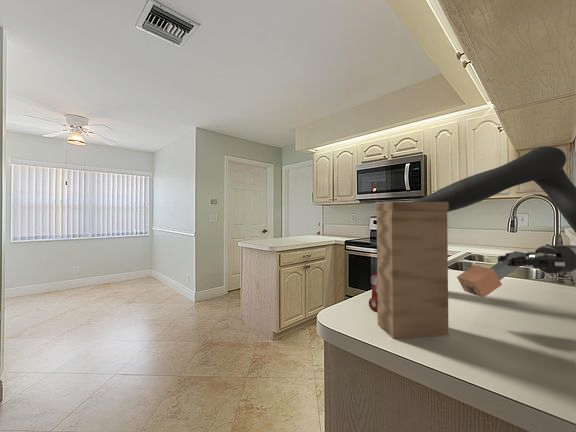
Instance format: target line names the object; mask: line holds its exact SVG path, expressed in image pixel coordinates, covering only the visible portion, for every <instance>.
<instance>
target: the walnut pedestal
mask: <svg viewBox="0 0 576 432" xmlns="http://www.w3.org/2000/svg"><path fill="white" fill-rule="evenodd" d="M447 210H449V202H412V201H390V202H381V203H375V212H376V266H377V267H376V275H377V305H378V311H377V325H378V327H380V328H381V329H382V330H383V331H384V332H385V333H386V334H387V335H389V336H390V338H392V339H393V340H394V339H407V338H427V337H440V336H441V337H442V336H449V273H448V272H449V269H448V268H449V265H448V264H449V260H448V257H449V256H448V255H449V253H448V250H449V249H448V247H449V246H448V242H449V241H448V212H447Z"/></svg>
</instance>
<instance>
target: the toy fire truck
mask: <svg viewBox="0 0 576 432" xmlns="http://www.w3.org/2000/svg"><path fill="white" fill-rule="evenodd" d="M370 283H371V298H369V300H368V306H369V308H370V310H371V311H373V312H378V305H377V274H371V276H370Z"/></svg>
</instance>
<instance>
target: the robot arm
mask: <svg viewBox="0 0 576 432" xmlns="http://www.w3.org/2000/svg"><path fill="white" fill-rule="evenodd" d="M566 162H567V155H566V153H565V152H564V151H563V150H562V149H560V148H558V147H555V146H550V145H549V146H548V145H547V146H546V145H545V146H539V147H536V148H534V149H531V150H530V151H528V152H526V153H524V154H523V155H520V156H519V157H517V158H515V159H513V160H511V161H509V162H506V163H505V164H504V163H503V164H502V165H500V166H497V167H495V168H492V169H488V170H485V171H482V172H479V173H476V174H473V175H470V176H467V177H465V178H463V179H459V180H457V181H455V182H453V183H451V184H449V185H446V186H444V187H441V188H440V189H438V190H436V191H434V192H431V193H430V194H428V195H425V196H423V197H420V198H418V199H416V200H412V201H411V202H449V210H447V213H448V212H452V211H456V210H460V209H464V208H466V207H470V206H473V205H475V204H478V203H479V202H482V201H484V200H485V201H486V199H488V198H489V199H490V198H491V197H493V196H496V195H497V194H499V193H502V192H504V191H506V190H509V189H510V188H513V187H516V186H519V185H522V184H526V183H529V182H534V183H536V184H537V185H538V187H540V189H541V190H542V191H543V192H544V193H545V194H546V195H547V196H548V197H549V199H550V200H551V201H552V203H553V204H554V205H555V207H556V208H557V210H558V211H559V213H560V214H561V215H562V217H563V218H564V219H565V221H566V222H567V223H568V225H569V226H570V228H571V229H572V230H573V232H574V233H576V186H575V184H574V183H573V182H572V181H571V180H570V178H569V176H568V174H566V172H565V170H564V167H565V164H566ZM513 252H514V251H512V252H506V253H504V255H498V256H497V263H498V262H500V261H501V260H503V259H504V258H506V257H507V256H508V255H510V254H511V253H513ZM524 253H525V255H526V257H510V258H509V259H508V263H509V266H520V267H525V268H533V269H539V270H540V271H541V272H543V273H545V274H552V275H554V274H557V275H558V274H576V245H573V244H559V245H558V244H554V245H553V244H551V245H541V246H539V247H538V248H536V250H535V251H526V252H524Z"/></svg>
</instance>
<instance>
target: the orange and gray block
mask: <svg viewBox="0 0 576 432" xmlns="http://www.w3.org/2000/svg"><path fill="white" fill-rule="evenodd" d="M512 252H513V253H511V252H510V253H511V254H510V255H508V256H507V257H506V258H504V259H503V260H501V261H500V262H498V261H497V263H496V264H494V265H492V266H491V267H490V268H489V267H483V266H480V265H476V264H475V265H472V266H471V267H469V268H467V270H465V271H463V272H461V273H460V274H459V275H458V276H456V278H457V280H458V282H459V285H460V286H461V287H462V289H463V291H464V292H466V293H469V294H471V295H475V296H477V297H481V298H485V297H487V296H488V295H490V294H491V293H493V292H494V291H495V290H497V289H498V288H500V287H501V286H502V285H503V284H502V282H501V280H502V279H504V278H505V277H507V276H508V275H510V274H511V273H513V272H514V271H515V270H517V269H519V268H520V267H521V266H509V263H508V259H509V258H510V257H526V255H525V253H526V252H525V251H517V250H514V251H512Z"/></svg>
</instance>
